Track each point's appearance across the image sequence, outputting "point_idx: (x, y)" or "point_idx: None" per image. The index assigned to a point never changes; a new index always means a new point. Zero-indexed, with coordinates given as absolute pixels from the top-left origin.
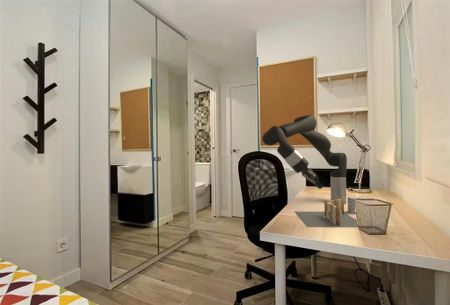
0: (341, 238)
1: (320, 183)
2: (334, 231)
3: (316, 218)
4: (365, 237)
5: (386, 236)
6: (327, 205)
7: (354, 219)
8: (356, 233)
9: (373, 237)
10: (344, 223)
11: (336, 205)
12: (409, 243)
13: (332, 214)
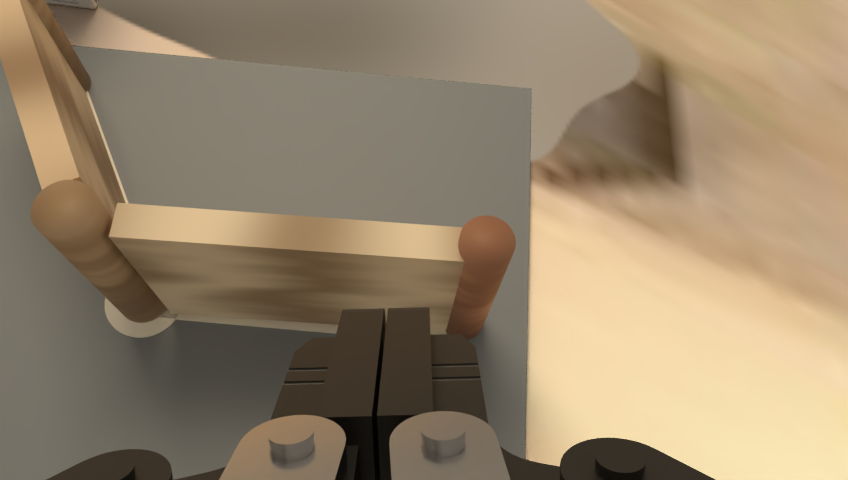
0: (817, 469)
1: (428, 360)
2: None
3: (187, 459)
4: (756, 243)
5: (711, 83)
6: (168, 257)
7: (292, 77)
8: (665, 263)
9: (747, 183)
10: None
11: (68, 98)
12: (829, 32)
13: (350, 299)
